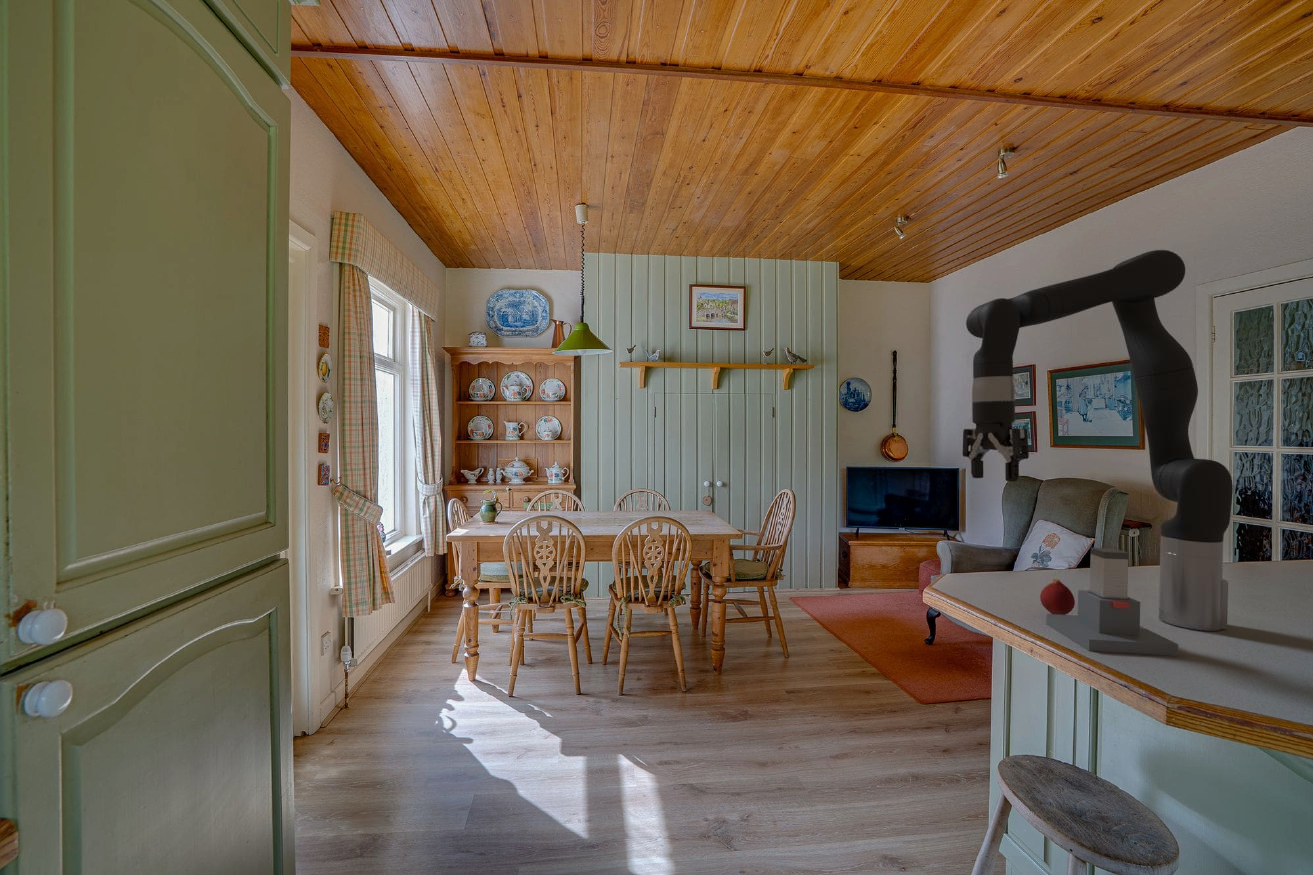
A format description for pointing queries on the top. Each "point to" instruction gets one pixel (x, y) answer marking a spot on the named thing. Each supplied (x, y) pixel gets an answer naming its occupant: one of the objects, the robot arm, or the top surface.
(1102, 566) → the column
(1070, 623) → the stand
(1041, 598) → the onion
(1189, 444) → the robot arm
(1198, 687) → the top surface
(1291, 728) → the top surface
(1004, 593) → the top surface
